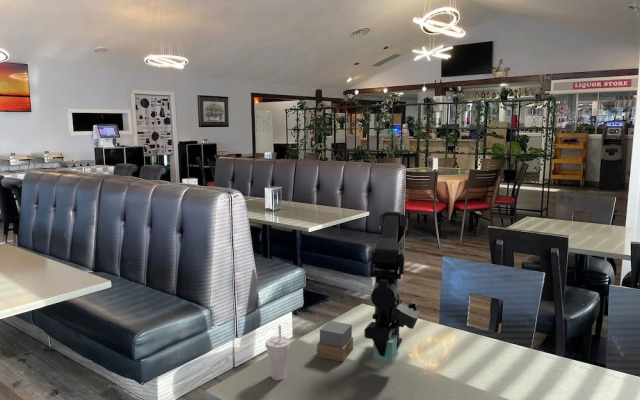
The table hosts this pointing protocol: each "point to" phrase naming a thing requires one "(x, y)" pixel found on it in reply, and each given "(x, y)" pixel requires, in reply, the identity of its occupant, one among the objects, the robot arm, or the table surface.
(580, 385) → the table surface
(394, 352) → the teal cube
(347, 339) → the tower top
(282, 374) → the smoothie
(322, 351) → the tower base
